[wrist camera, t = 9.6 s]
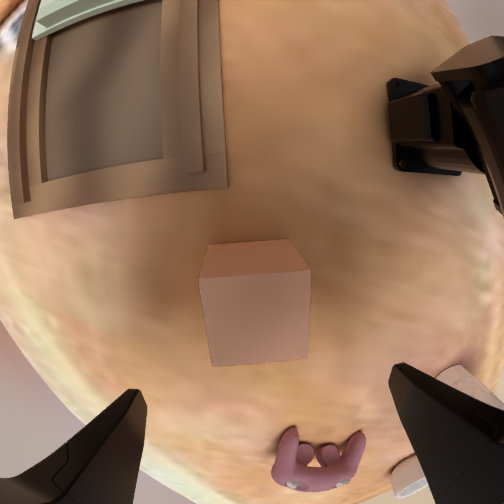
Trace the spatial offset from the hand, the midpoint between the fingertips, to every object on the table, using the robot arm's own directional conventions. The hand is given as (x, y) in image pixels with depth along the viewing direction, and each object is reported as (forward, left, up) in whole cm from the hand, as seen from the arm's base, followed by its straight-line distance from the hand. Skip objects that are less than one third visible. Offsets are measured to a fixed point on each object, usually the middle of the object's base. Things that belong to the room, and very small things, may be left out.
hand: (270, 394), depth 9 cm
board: (+9, -20, -10) cm, 24 cm away
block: (0, 0, -10) cm, 10 cm away
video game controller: (-6, +20, -11) cm, 23 cm away
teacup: (-23, +36, -11) cm, 44 cm away
